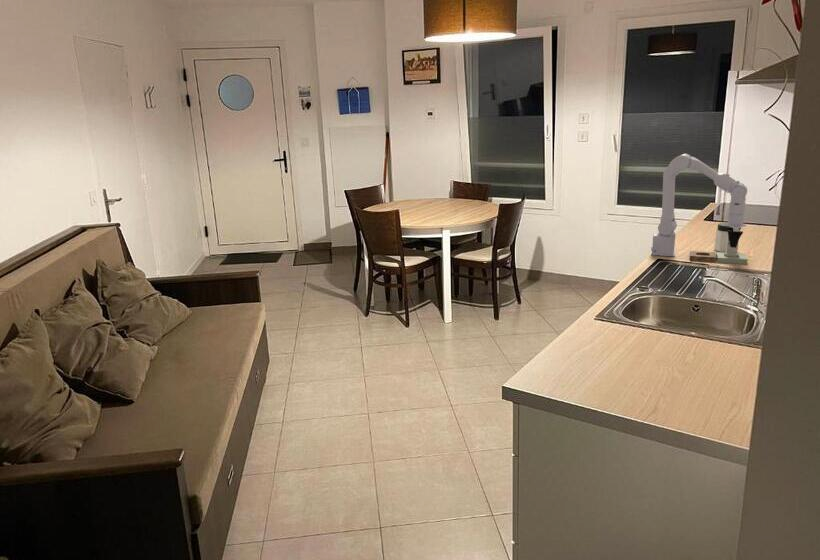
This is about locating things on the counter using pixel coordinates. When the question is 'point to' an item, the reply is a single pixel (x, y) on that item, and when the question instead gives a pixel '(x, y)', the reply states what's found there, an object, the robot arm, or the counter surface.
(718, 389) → the counter surface
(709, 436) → the counter surface
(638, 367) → the counter surface
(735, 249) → the peg
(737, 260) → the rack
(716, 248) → the jar
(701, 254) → the socket block
